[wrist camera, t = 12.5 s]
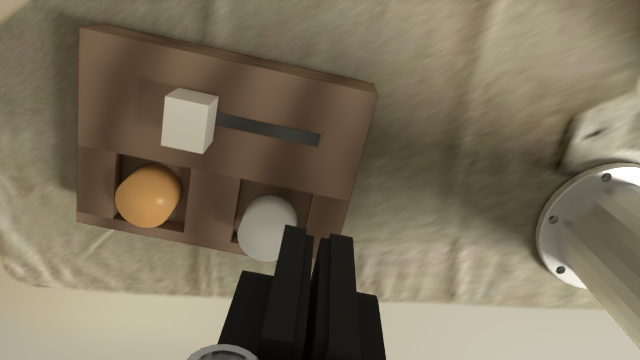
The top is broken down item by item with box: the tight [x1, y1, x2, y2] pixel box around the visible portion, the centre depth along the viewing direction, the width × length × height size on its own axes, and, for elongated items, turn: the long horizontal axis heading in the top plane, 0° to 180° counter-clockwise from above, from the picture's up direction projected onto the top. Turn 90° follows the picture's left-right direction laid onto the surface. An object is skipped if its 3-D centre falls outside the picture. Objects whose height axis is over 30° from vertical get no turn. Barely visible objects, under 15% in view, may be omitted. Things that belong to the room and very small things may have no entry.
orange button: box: [115, 164, 183, 228], centre depth 38 cm, size 4×4×3 cm
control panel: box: [76, 24, 378, 268], centre depth 38 cm, size 22×16×4 cm
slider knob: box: [161, 88, 219, 154], centre depth 34 cm, size 3×4×3 cm
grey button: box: [237, 195, 297, 262], centre depth 37 cm, size 4×4×3 cm
